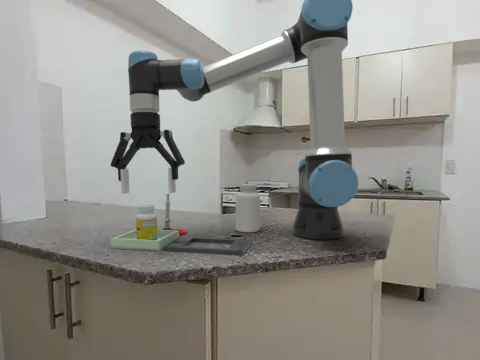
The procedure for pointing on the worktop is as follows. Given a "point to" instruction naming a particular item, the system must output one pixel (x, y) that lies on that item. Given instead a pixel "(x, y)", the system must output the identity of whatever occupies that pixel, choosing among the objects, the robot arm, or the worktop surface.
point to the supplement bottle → (146, 223)
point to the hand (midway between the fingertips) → (148, 192)
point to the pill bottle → (247, 209)
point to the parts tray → (144, 241)
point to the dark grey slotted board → (235, 249)
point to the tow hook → (167, 219)
